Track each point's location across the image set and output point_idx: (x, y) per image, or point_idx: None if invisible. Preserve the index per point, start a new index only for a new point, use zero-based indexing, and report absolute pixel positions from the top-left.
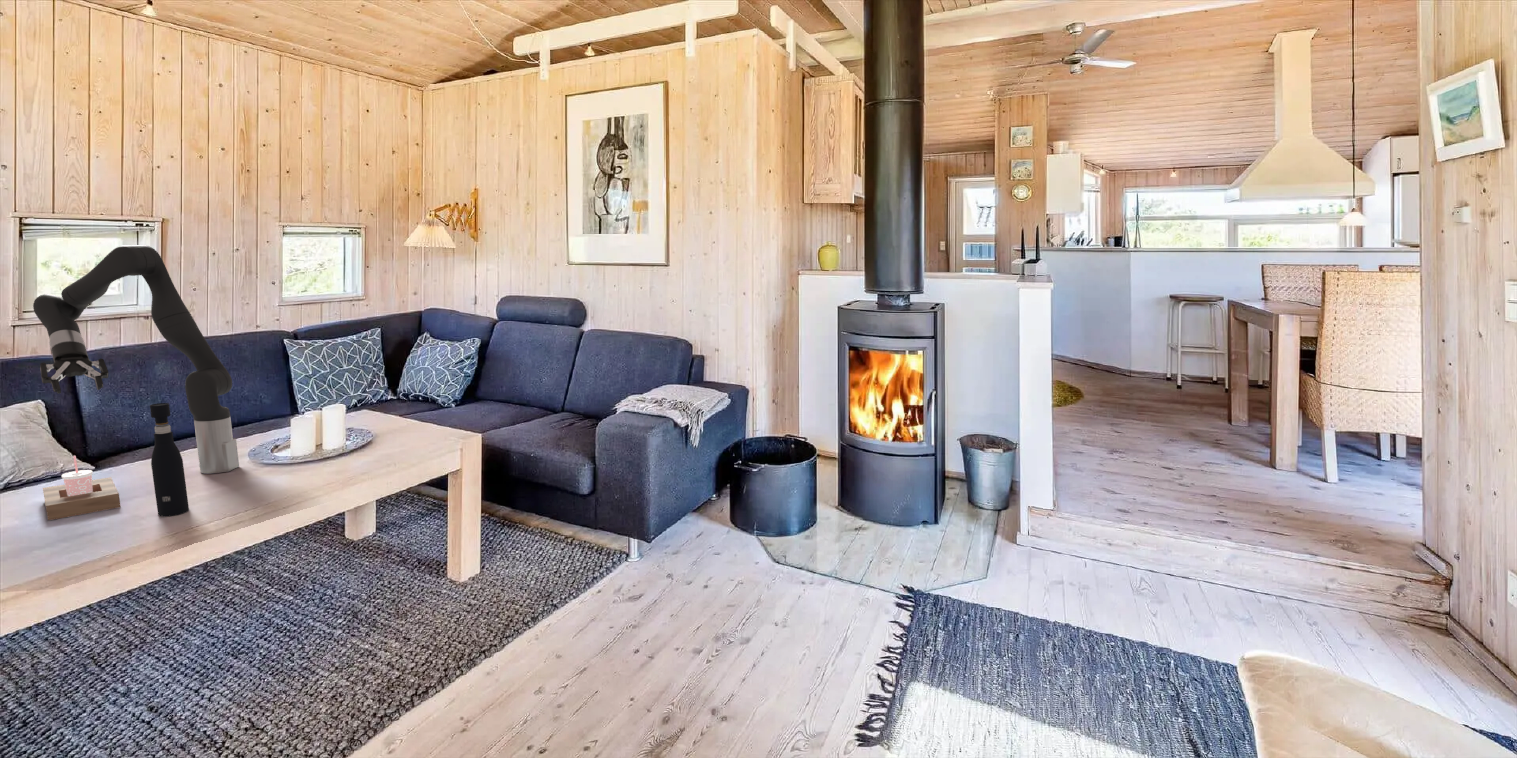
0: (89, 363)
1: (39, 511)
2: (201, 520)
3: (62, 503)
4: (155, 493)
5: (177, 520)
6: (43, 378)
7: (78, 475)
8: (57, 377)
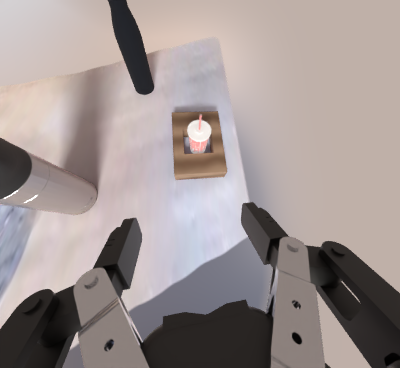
0: None
1: None
2: None
3: (207, 112)
4: (149, 68)
5: None
6: (334, 243)
7: (198, 120)
8: (280, 250)
